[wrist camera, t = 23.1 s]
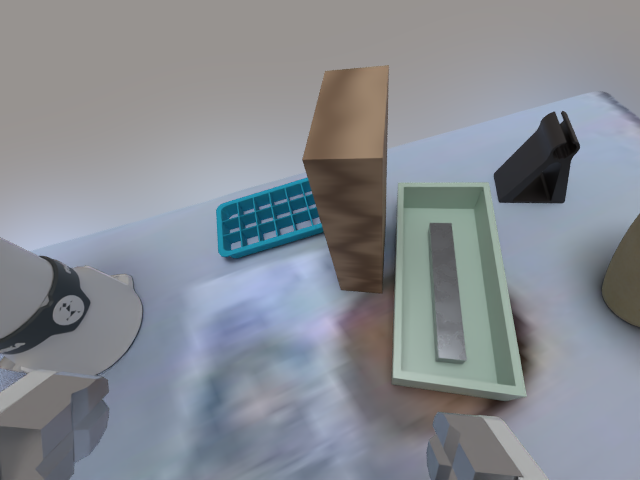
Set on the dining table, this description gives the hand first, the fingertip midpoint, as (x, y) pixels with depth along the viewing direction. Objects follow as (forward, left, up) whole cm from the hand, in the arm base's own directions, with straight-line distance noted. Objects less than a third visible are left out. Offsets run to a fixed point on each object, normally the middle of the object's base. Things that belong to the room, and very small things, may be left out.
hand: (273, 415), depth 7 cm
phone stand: (+24, +37, -33) cm, 55 cm away
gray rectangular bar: (+10, +17, -32) cm, 38 cm away
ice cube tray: (-17, +29, -34) cm, 47 cm away
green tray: (+10, +19, -33) cm, 39 cm away
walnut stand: (-1, +23, -33) cm, 40 cm away
